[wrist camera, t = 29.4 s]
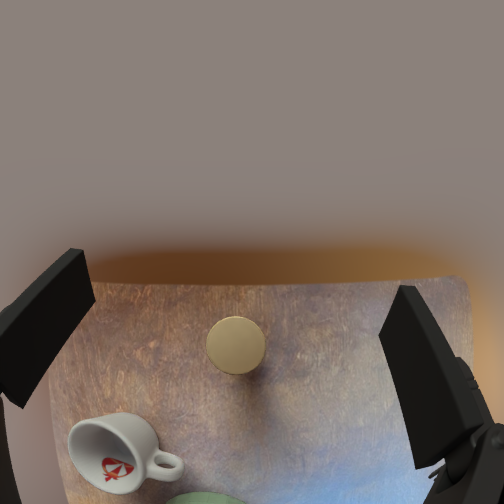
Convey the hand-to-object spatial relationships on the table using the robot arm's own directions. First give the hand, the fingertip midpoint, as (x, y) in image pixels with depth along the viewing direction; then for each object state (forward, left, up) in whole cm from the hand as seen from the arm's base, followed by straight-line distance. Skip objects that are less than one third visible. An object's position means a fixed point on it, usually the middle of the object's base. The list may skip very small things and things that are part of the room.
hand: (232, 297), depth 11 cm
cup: (+8, -16, -19) cm, 26 cm away
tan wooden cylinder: (+2, -1, -18) cm, 19 cm away
